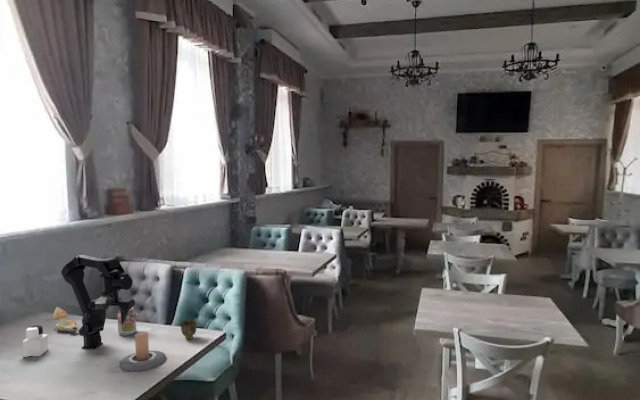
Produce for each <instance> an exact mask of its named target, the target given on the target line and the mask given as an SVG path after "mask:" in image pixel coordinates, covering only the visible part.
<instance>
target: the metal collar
mask: <svg viewBox="0 0 640 400" xmlns="http://www.w3.org/2000/svg"><path fill="white" fill-rule="evenodd" d="M133 354H134V353H133ZM149 356H152V357H151V358H150V359H148V360H144V361H134V359H135V358H136V354H134V355H132V356H131V357H129V364H131V365H138V366H139V365H145V364H148V363H151V362H153V361H154V360H155V359H156V353H154V352H149Z"/></svg>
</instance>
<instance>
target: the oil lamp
mask: <svg viewBox="0 0 640 400" xmlns="http://www.w3.org/2000/svg"><path fill="white" fill-rule="evenodd" d="M52 316H53V317H52V320H53V321H57V320H58V322H57V323H56V324H55V327H56V329H58V331H60V332H72V333H76V332H77V331H79V326H77V325H76V324H77V322H76V320H75V319H68V320H66V319H65V318H67V317H69V315H68V312H67V311H65V310H63V309H62V308H61V307H58V306H56V307H55V309H54V311H53V315H52Z"/></svg>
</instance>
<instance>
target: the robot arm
mask: <svg viewBox="0 0 640 400" xmlns="http://www.w3.org/2000/svg"><path fill="white" fill-rule="evenodd" d="M87 267H88V268H93V269H97V271H98V272H99V273H100V275H99V277H100V278H102V282H103V284H102V285H103V290H102V291H101V296H99V297H98V298H94V299H93V300H91V296H90V294H89V292H88V289H87V287H86V284H85V281H84V278H85V269H86V268H87ZM60 274H61V275H62V277H63V279H64V281H65V282H66V283H67V284H69V285H71V287H72V290H73V293H74V294H75V297H76V300H77V302H78V304H79V307H80V310H81V312H82V318H81V324H82V326H81V327H80V328H79V329H78V334H79V336H81V337H82V338H83V346H82V347H81V349H84V350H95V349H97V348H99V347H100V346H102V345H104V342H102V335H101V332H102V331H104V327H105V324H106V320H107V319H106V315H107V314H106V313H107V312H106V311H107V309H108V308H109V307H113V306H115V307H119V309H118V312H119V311H120V312H121V321H122V323H124V322H125V319H126V317H127V314H128V312H129V310H130V308H132V307H133V308H134V306H136V301H135V299H134V298H125V299H123V300H122V298H121V296H120V295H119V293H120V292H121V290H123V291H124V290H125V291H128V290H130V289H131V287H132V286H133V283H134V282H133V281H134V280H133V279H132V277H131V276H129V273H127V272H125V270H124V268H123V266H122V265H121V263H120V261H119V260H118V258H116V257H107V258H100V257H96V256H95V257H94V256H92V255H91V256H90V255H87V254H81V255H80V254H79V255H76V256H75V257H74V258H73V259H72V260H70V261H69V262H67V263H66V264H65V265H64V266H63V267H62V269H61V273H60Z"/></svg>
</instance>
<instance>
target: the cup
mask: <svg viewBox="0 0 640 400" xmlns="http://www.w3.org/2000/svg"><path fill="white" fill-rule="evenodd" d="M197 323H198V321H197V320H195V319H188V320H187V319H184V320H182V321H181V322H180V324H179V325H180V329H181V334H182V335H183V336H184V338H185V340H188V341H189V340H192V339H193V338H194V335H195V334H196V332H197V327H198V326H197Z"/></svg>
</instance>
